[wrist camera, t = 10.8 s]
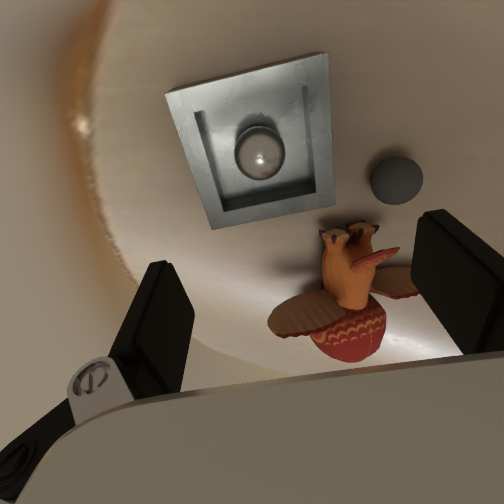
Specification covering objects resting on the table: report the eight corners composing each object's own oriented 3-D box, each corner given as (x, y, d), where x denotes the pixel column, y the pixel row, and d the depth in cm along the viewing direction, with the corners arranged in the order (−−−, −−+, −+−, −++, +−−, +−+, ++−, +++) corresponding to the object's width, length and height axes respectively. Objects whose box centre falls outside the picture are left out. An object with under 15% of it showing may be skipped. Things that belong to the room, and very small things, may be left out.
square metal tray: (317, 51, 21) (328, 52, 18) (326, 190, 27) (335, 204, 25) (172, 88, 22) (164, 93, 19) (214, 214, 28) (211, 230, 26)
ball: (411, 146, 25) (436, 161, 22) (406, 188, 27) (429, 207, 24) (364, 156, 25) (383, 172, 22) (363, 197, 28) (380, 217, 24)
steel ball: (279, 115, 22) (283, 127, 19) (286, 165, 25) (291, 183, 22) (229, 126, 23) (226, 140, 20) (241, 174, 25) (239, 193, 22)
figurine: (237, 237, 28) (251, 357, 34) (281, 272, 20) (289, 419, 26) (391, 202, 34) (380, 308, 40) (467, 219, 27) (440, 346, 32)
